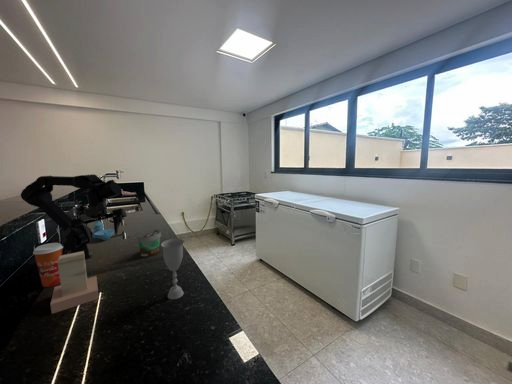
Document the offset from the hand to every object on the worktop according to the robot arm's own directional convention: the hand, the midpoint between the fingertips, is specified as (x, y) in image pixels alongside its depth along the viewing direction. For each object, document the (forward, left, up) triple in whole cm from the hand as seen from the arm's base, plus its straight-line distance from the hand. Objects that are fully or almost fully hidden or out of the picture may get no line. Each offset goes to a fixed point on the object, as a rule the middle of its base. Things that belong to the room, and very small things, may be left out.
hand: (103, 238), depth 88 cm
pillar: (+6, -20, -10) cm, 23 cm away
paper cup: (-10, -13, -13) cm, 21 cm away
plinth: (+6, -20, -13) cm, 24 cm away
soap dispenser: (-28, +31, -13) cm, 44 cm away
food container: (+13, +14, -13) cm, 23 cm away
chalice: (+38, -15, -13) cm, 43 cm away
